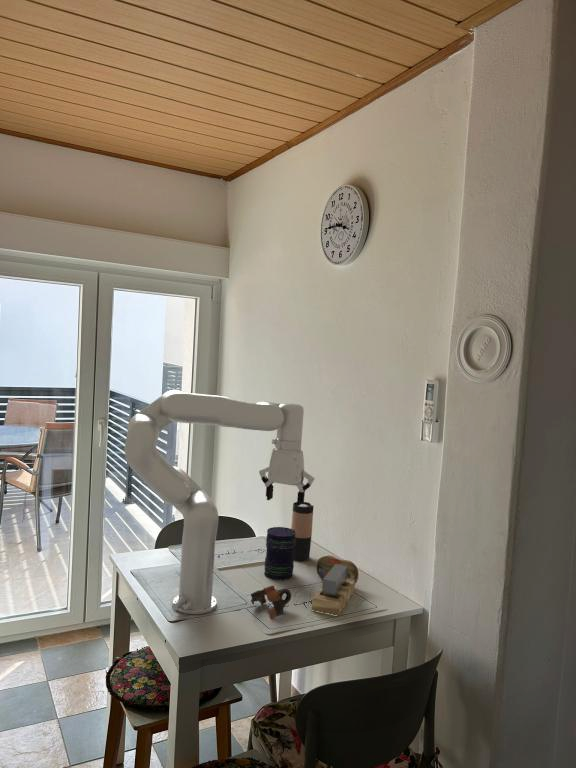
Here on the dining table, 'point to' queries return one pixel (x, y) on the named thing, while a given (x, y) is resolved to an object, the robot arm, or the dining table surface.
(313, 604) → the light brown long block
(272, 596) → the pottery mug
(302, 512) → the travel mug
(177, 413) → the robot arm
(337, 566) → the clip
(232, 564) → the dining table surface
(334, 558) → the tin
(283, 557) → the storage jar
